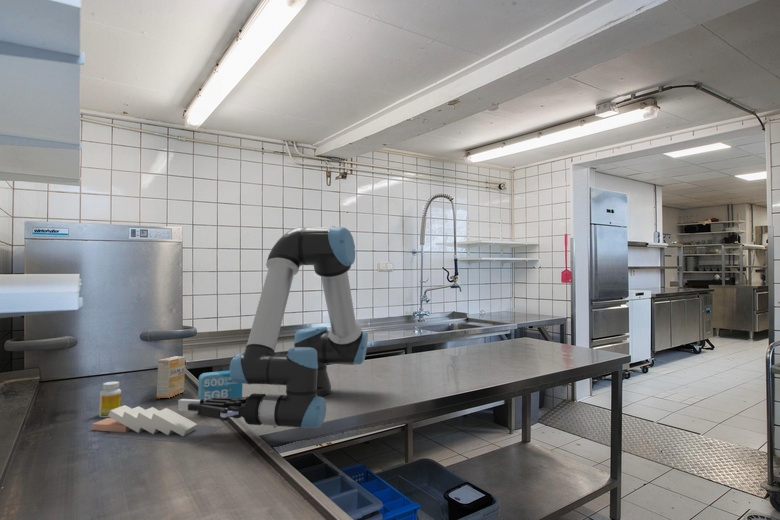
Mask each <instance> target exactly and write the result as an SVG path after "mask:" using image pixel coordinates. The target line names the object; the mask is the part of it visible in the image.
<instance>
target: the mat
mask: <svg viewBox="0 0 780 520" xmlns="http://www.w3.org/2000/svg"><path fill="white" fill-rule="evenodd" d="M222 428H223V426H221V425H220V426H219V425H202V424H197V426H196V429H195V430H194V431H192V432H190V433H188V434H187V435H185V436H181V435H180V434H178V433H176V432H174V433H172V434H170V435H167V434H165V433H163V432H161V431H159V432H157V433H155V434H152V433H150V432H148V431H146V430H144V431H142V432H139V433H138V432H136V431H134V430H130V431H127V432H114V431H110V432H109V433H106V434H105V435H103V436H102V437H105V438H118V439H133V440H135V439H136V440H147V441H148V440H149V441H161V442H173V443H174V442H175V443H189V444H197V443H199V442H200V441H202V440H204V439H205V438H207V437H208V436H210V435H211V434H213V433H215V432H217V431H218V430H220V429H222Z"/></svg>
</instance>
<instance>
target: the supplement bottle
mask: <svg viewBox="0 0 780 520" xmlns="http://www.w3.org/2000/svg"><path fill="white" fill-rule="evenodd" d="M119 387H120V382H119V381H107V382H103V383H102V389H103V390H101V391H100V393H99V402H98V403H99V404H98V405H99V406H98V417H99V418H110V417H109V416H108V415H109V412H110V410H113V409H116V408H118V407H121V405H122V389H120V388H119Z"/></svg>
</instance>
